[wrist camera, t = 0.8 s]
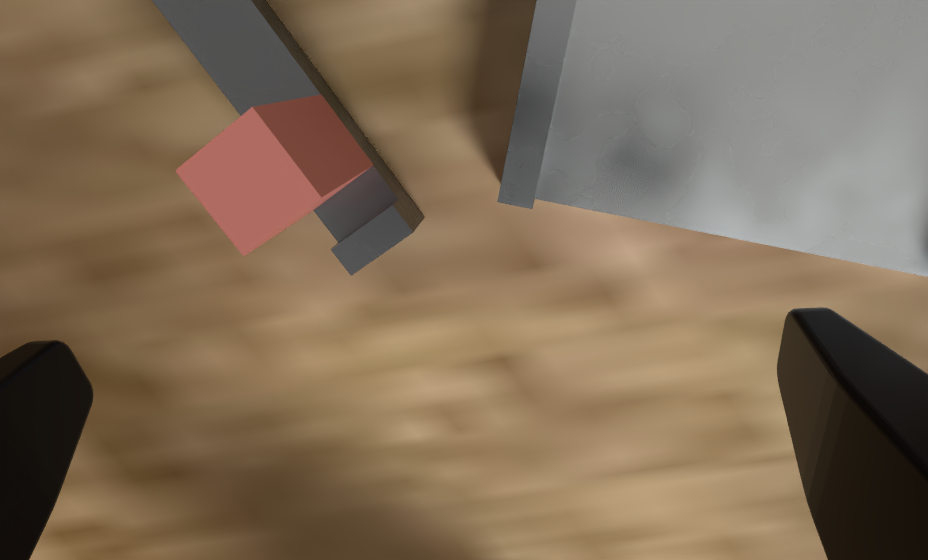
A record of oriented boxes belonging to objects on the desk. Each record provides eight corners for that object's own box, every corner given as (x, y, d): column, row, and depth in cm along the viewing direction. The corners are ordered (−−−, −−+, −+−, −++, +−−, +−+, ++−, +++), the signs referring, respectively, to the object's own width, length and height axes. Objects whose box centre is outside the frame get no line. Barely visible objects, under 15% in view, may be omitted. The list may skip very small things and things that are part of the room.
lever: (373, 165, 21) (321, 197, 16) (311, 211, 22) (243, 256, 17) (321, 94, 20) (252, 106, 16) (259, 144, 21) (175, 170, 16)
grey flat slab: (958, 277, 21) (1010, 305, 19) (502, 187, 22) (496, 203, 20) (1174, -225, 17) (1275, -270, 15) (601, -314, 18) (608, -370, 15)
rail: (424, 217, 22) (413, 232, 21) (367, 257, 23) (351, 275, 21) (149, -158, 20) (107, -180, 18) (93, -101, 21) (48, -117, 19)
